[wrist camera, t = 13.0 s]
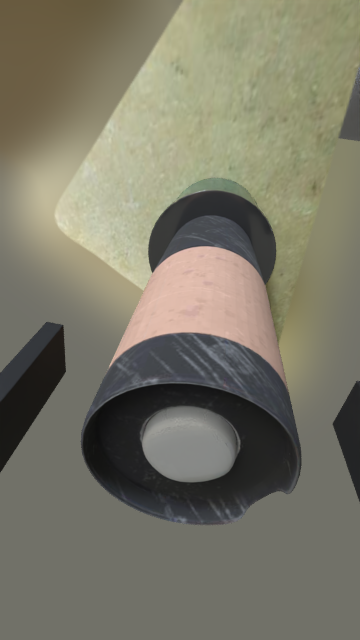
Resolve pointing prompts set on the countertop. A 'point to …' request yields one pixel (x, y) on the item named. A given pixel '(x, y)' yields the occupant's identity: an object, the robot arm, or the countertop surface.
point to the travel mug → (196, 388)
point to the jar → (216, 201)
